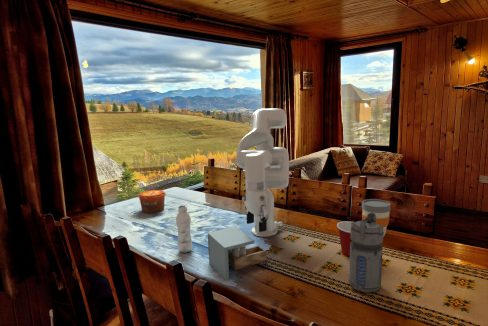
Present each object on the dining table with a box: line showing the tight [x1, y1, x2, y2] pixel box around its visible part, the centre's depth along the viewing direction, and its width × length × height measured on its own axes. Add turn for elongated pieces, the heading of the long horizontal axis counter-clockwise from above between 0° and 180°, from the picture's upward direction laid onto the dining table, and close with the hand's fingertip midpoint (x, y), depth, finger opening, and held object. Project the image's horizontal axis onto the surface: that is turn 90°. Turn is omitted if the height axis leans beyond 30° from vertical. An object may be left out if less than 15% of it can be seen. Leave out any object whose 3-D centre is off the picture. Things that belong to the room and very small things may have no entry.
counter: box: [207, 226, 255, 282], centre depth 128 cm, size 12×16×13 cm
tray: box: [228, 245, 267, 271], centre depth 131 cm, size 14×6×7 cm, turn 118°
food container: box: [137, 189, 167, 214], centre depth 200 cm, size 16×16×11 cm
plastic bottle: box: [175, 205, 193, 254], centre depth 142 cm, size 6×7×20 cm
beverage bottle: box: [348, 213, 385, 293], centre depth 111 cm, size 10×13×25 cm
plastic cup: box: [336, 220, 355, 257], centre depth 136 cm, size 11×11×12 cm
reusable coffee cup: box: [361, 198, 392, 237], centre depth 155 cm, size 13×13×15 cm
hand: (256, 227), depth 132 cm, fingers open, 9 cm apart
